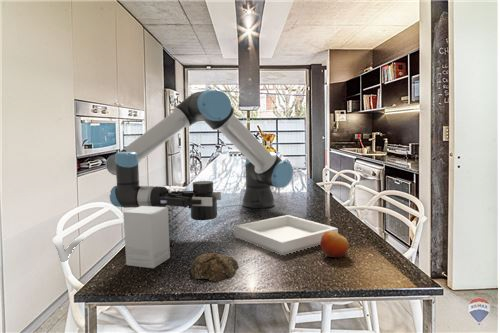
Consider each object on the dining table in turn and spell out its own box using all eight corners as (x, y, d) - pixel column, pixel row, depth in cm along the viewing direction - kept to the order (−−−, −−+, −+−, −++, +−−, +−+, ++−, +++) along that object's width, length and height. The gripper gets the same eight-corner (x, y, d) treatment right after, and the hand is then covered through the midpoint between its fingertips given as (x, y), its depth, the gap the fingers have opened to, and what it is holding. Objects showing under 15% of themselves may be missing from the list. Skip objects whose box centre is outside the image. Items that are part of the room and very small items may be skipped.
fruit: (310, 247, 113) (324, 224, 113) (333, 259, 114) (346, 236, 114) (317, 256, 105) (332, 231, 105) (341, 269, 106) (356, 245, 106)
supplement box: (171, 257, 110) (169, 206, 108) (153, 269, 101) (151, 213, 100) (144, 254, 113) (142, 204, 111) (124, 265, 104) (122, 211, 102)
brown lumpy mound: (195, 263, 106) (195, 245, 105) (240, 264, 105) (239, 246, 104) (183, 282, 93) (183, 262, 93) (233, 283, 92) (233, 263, 92)
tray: (287, 225, 143) (287, 214, 143) (337, 240, 124) (337, 228, 124) (235, 237, 129) (234, 225, 129) (282, 256, 110) (282, 242, 109)
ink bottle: (219, 214, 133) (218, 180, 131) (217, 220, 124) (216, 184, 122) (191, 215, 132) (189, 180, 131) (187, 221, 124) (186, 185, 122)
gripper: (168, 201, 142) (226, 203, 137) (138, 215, 122) (205, 218, 116) (167, 181, 141) (225, 182, 136) (137, 192, 121) (204, 193, 115)
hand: (216, 198), depth 126 cm, fingers closed on ink bottle, 9 cm apart
